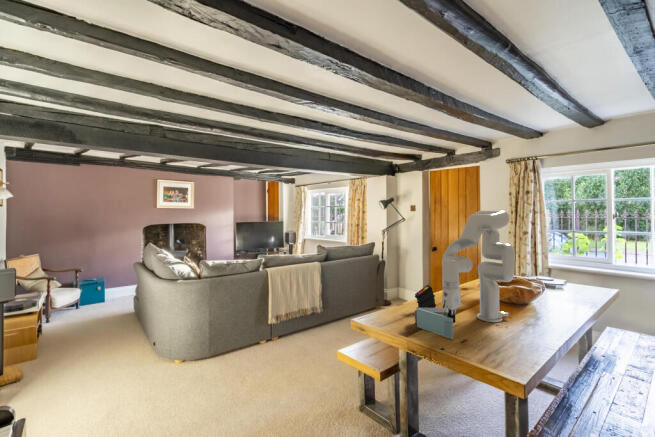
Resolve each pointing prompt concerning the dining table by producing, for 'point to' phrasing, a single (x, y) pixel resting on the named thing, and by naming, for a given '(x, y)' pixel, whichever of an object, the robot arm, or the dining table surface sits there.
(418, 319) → the side door
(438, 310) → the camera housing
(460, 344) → the dining table surface
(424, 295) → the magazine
